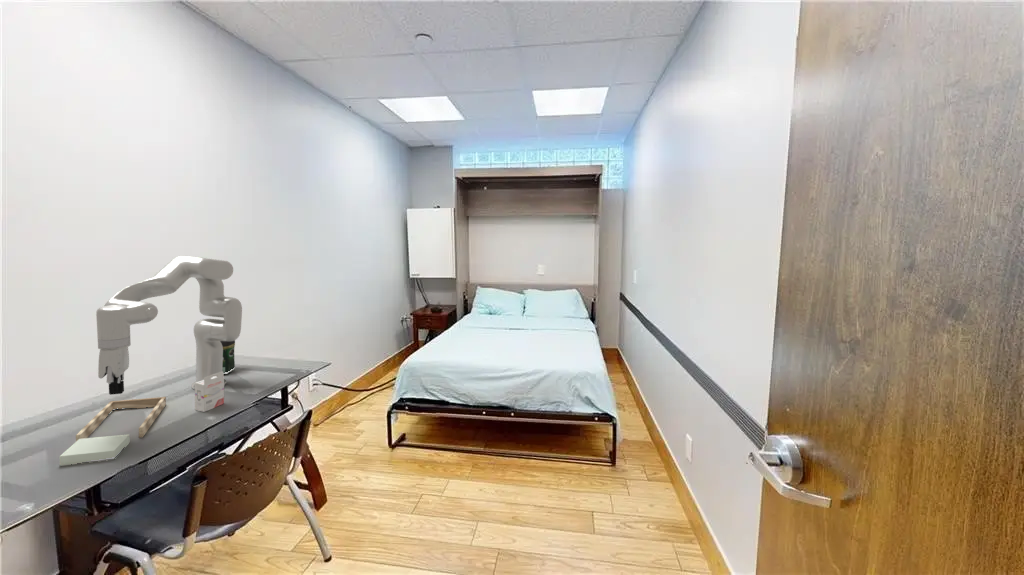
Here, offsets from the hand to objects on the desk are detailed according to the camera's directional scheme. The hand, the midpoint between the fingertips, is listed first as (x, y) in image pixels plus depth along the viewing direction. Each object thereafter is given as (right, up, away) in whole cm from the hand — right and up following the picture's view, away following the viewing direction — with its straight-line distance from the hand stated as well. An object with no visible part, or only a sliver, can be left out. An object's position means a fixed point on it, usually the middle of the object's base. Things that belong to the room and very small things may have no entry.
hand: (116, 393), depth 127 cm
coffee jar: (-10, -7, +60) cm, 61 cm away
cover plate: (+3, -17, -9) cm, 20 cm away
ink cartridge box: (+10, -14, +27) cm, 31 cm away
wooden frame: (-6, -14, +9) cm, 17 cm away
